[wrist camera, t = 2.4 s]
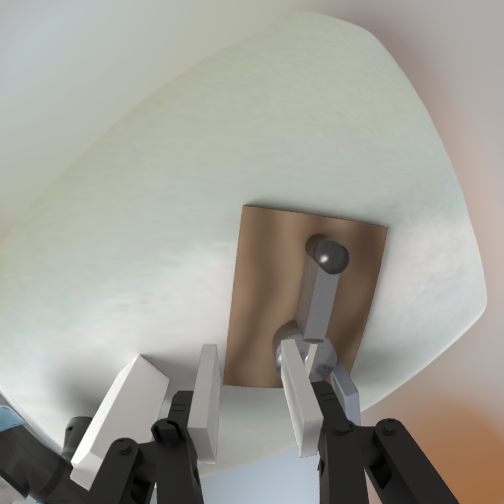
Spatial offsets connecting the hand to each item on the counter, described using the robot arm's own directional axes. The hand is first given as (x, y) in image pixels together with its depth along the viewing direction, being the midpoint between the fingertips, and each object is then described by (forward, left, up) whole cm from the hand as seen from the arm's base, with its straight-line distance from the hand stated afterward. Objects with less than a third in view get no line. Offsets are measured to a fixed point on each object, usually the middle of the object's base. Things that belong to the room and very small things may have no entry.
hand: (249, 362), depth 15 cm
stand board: (+8, -4, -19) cm, 21 cm away
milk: (-13, -18, -19) cm, 29 cm away
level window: (+15, -14, -17) cm, 27 cm away
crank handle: (+8, -3, -17) cm, 19 cm away
